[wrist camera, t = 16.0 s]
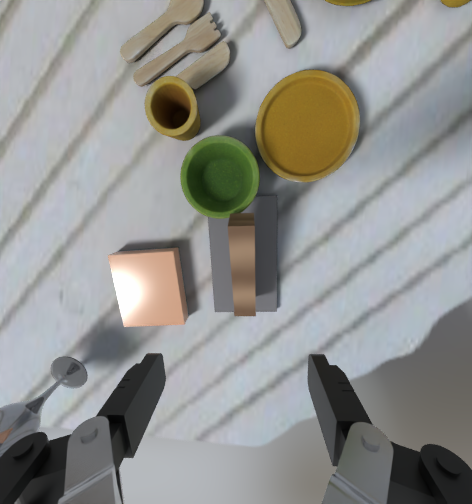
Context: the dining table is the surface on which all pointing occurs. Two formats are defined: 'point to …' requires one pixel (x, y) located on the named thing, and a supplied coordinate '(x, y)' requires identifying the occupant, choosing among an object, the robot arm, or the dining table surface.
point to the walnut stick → (242, 262)
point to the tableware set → (268, 119)
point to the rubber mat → (264, 257)
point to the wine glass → (37, 403)
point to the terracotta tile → (149, 287)
